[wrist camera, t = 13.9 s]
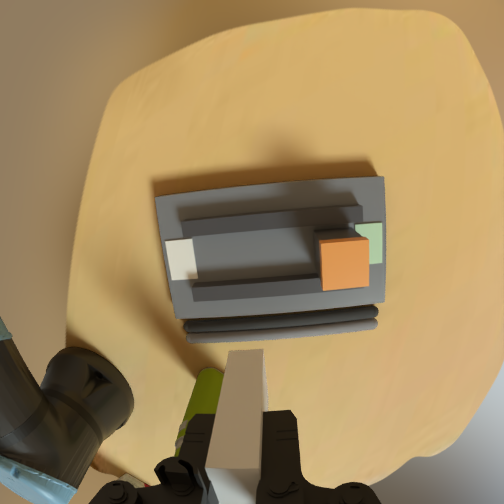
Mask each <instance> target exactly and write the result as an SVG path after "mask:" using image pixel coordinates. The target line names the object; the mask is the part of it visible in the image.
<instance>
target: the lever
mask: <svg viewBox="0 0 504 504" xmlns="http://www.w3.org/2000/svg"><path fill="white" fill-rule="evenodd" d="M313 236H314V254H315V268H316V271H317V273H318V276H319V278H320V281H321V287H322V290H323V291H326V290H337V289H346V288H356V287H365V286H369V239H368V238H366V237H363V236H361V235H360V234H359V233H358V232H357V231H355V230H354V229H353V228H352V227H347V228H334V229H321V230H313Z"/></svg>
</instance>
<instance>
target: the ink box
mask: <svg viewBox="0 0 504 504" xmlns="http://www.w3.org/2000/svg"><path fill="white" fill-rule="evenodd" d="M118 480H123V481H127V482H129V483H131V484H132V485H134V487H135V488H140V487H149V485H147V484H145V483H143V482H141V481H140V480H138V479H136V478H134V477H133V476H131V475H129V474H128V473H126V474H124V475H123V476H122V477H120V478H119V479H118Z"/></svg>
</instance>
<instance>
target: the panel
mask: <svg viewBox="0 0 504 504" xmlns="http://www.w3.org/2000/svg"><path fill="white" fill-rule="evenodd" d="M155 203H156V210H157V217H158V223H159V230H160V236H161V242H162V248H163V254H164V260H165V266H166V271H167V277H168V282H169V287H170V292H171V297H172V302H173V307H174V312H175V317H176V319H185V318H209V317H228V316H245V315H260V314H274V313H286V312H298V311H309V310H320V309H330V308H340V307H349V306H358V305H367V304H375V303H383V302H385V280H386V208H385V185H384V177H383V176H363V177H343V178H327V179H312V180H298V181H286V182H274V183H263V184H253V185H243V186H233V187H224V188H215V189H207V190H199V191H191V192H183V193H176V194H168V195H161V196H158V197H155ZM347 227H352V228H353V229H354V230H355V231H357V232H358V233H359V234H360V235H361V236H363V237H366V238H368V239H369V286H365V287H356V288H346V289H337V290H326V291H323V290H322V287H321V281H320V278H319V276H318V273H317V271H316V268H315V254H314V236H313V230H321V229H334V228H347Z"/></svg>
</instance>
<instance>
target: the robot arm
mask: <svg viewBox="0 0 504 504" xmlns="http://www.w3.org/2000/svg"><path fill="white" fill-rule="evenodd" d="M11 337H12V334H11V333H10V332H8V330H7V328H6V326H5V324H4V323H3V321H2V319H1V317H0V482H1V483H2V484H4V485H5V486H6V487H8V488H9V489H10V490H12V491H13V492H15V493H16V494H18V495H19V496H21V497H23V498H24V499H26V500H28V501H30V502H32V503H34V504H68V502H69V501H70V500H71V498H72V496H73V495H74V494H75V493H77V489H78V487H79V485H80V483H81V482H82V480H83V478H84V475H85V474H86V472H87V470H88V468H89V466H90V464H91V462H92V460H93V459H94V457H95V455H96V453H97V451H98V449H99V447H100V445H101V444H102V442H103V441H104V440H105V439H106V438H108V437H109V436H110V435H111V434H113V433H114V432H115V430H118V429H119V428H121V427H122V426H124V425H125V424H126V422H127V421H128V419H129V417H130V415H131V413H132V412H133V408H134V398H133V394H132V391H131V389H130V387H129V385H128V383H127V382H126V380H125V379H124V377H123V376H122V375H121V374H120V372H119V371H118V370H117V369H116V368H115V367H114V366H113V365H111V364H110V363H109V362H108V361H107V360H105V359H104V358H102V357H101V356H99V355H97V354H95V353H93V352H91V351H89V350H86V349H82V348H77V347H69V348H65V349H62V350H61V351H59V352H58V353H57V354H56V355H55V356H54V357H53V358H52V359H51V360H50V362H49V364H48V366H47V369H46V374H45V376H44V379H43V381H42V383H41V386H40V387H39V385H38V384H37V382H36V380H35V379H34V377H33V376H32V374H31V372H30V371H29V369H28V367H27V366H26V364H25V362H24V360H23V358H22V357H21V355H20V353H19V351H18V349H17V347H16V345H15V344H14V342H13V340H12V338H11ZM154 471H155V473H156V475H157V477H158V479H159V481H160V482H161V484H159V485H155V486H149V487H140V488H135V487H134V485H132V484H131V483H129V482H127V481H123V480H116V481H112V482H109V483H107V484H106V485H104V486H103V487H102V488H101V489H100V490H99V492H98V493H97V494H96V495H95V497H94V498H93V499H92V500H91V501H90V503H89V504H381V503H380V501H379V499H378V498H377V496H376V494H375V493H374V491H373V490H372V489H371V488H370V487H369V486H367V485H365V484H363V483H358V482H350V483H344V484H342V485H340V486H338V487H336V488H335V489H331V488H323V487H319V486H315V485H313V484H311V483H309V482H308V481H307V480H306V479H305V478H304V477H303V475H302V472H301V464H300V451H299V440H298V428H297V418H296V417H295V416H294V414H293V413H292V412H291V410H282V411H268V389H267V380H266V370H265V360H264V351H263V349H253V350H235V351H229V354H228V359H227V363H226V368H225V373H224V378H223V383H222V387H221V392H220V397H219V402H218V407H217V411H216V414H195V415H194V416H193V418H192V419H191V420H190V421H189V422H188V425H187V428H186V431H185V435H184V438H183V442H182V445H181V448H180V451H179V455H178V456H176V457H169V458H167V459H164V460H162V461H161V462H160V463H158V464H157V466H156V467H155V469H154Z"/></svg>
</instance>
